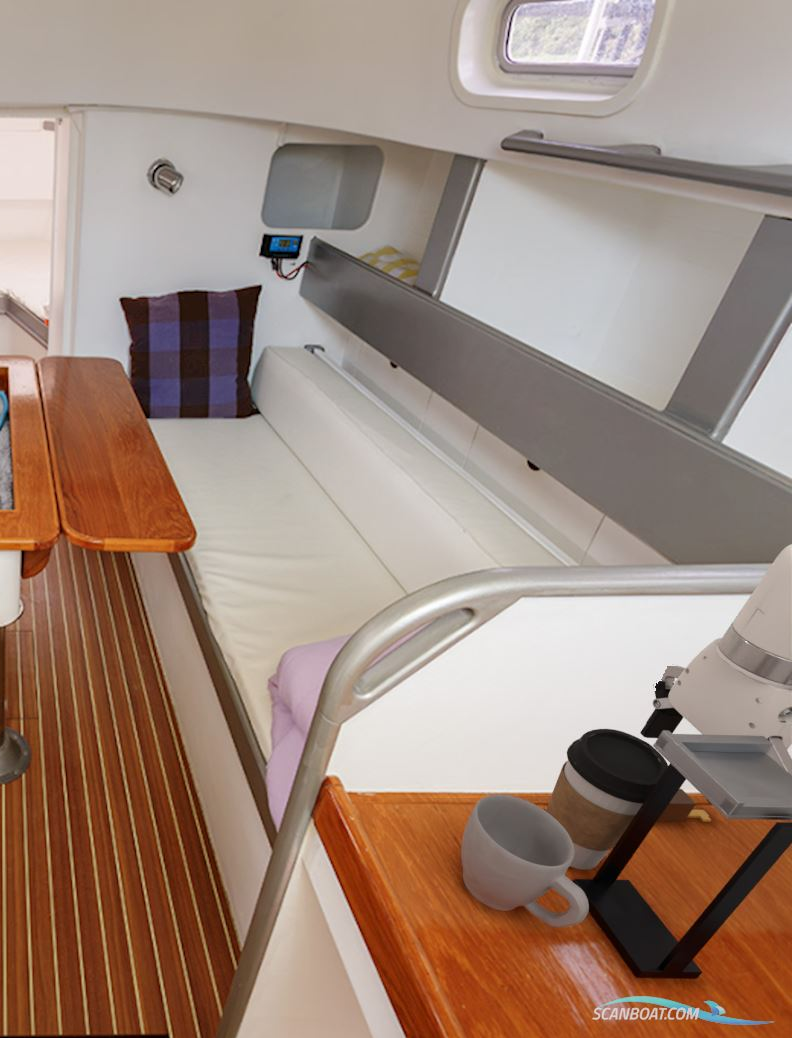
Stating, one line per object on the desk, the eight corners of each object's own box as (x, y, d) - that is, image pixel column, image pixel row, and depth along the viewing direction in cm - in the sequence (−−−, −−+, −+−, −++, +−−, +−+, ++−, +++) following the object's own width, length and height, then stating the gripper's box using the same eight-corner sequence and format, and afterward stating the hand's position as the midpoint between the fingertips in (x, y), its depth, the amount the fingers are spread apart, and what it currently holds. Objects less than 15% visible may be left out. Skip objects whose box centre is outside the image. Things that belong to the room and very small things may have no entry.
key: (650, 821, 87) (663, 803, 85) (637, 806, 89) (649, 787, 87) (712, 822, 87) (726, 804, 85) (697, 807, 89) (710, 789, 87)
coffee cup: (629, 866, 81) (694, 772, 74) (578, 890, 79) (641, 795, 71) (556, 807, 88) (609, 715, 81) (507, 828, 85) (558, 735, 78)
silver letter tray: (754, 748, 68) (765, 732, 67) (839, 821, 61) (853, 805, 60) (652, 745, 68) (662, 730, 67) (726, 818, 61) (738, 802, 60)
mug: (426, 866, 81) (455, 807, 76) (482, 841, 84) (513, 783, 79) (528, 970, 71) (569, 910, 66) (588, 938, 74) (630, 878, 69)
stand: (623, 886, 79) (728, 739, 68) (697, 979, 71) (829, 828, 60) (569, 885, 79) (665, 737, 68) (636, 978, 71) (757, 826, 60)
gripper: (891, 716, 68) (786, 834, 77) (733, 605, 83) (660, 714, 92) (813, 714, 68) (716, 832, 77) (668, 603, 83) (601, 712, 92)
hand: (685, 768), depth 84 cm, fingers open, 9 cm apart
